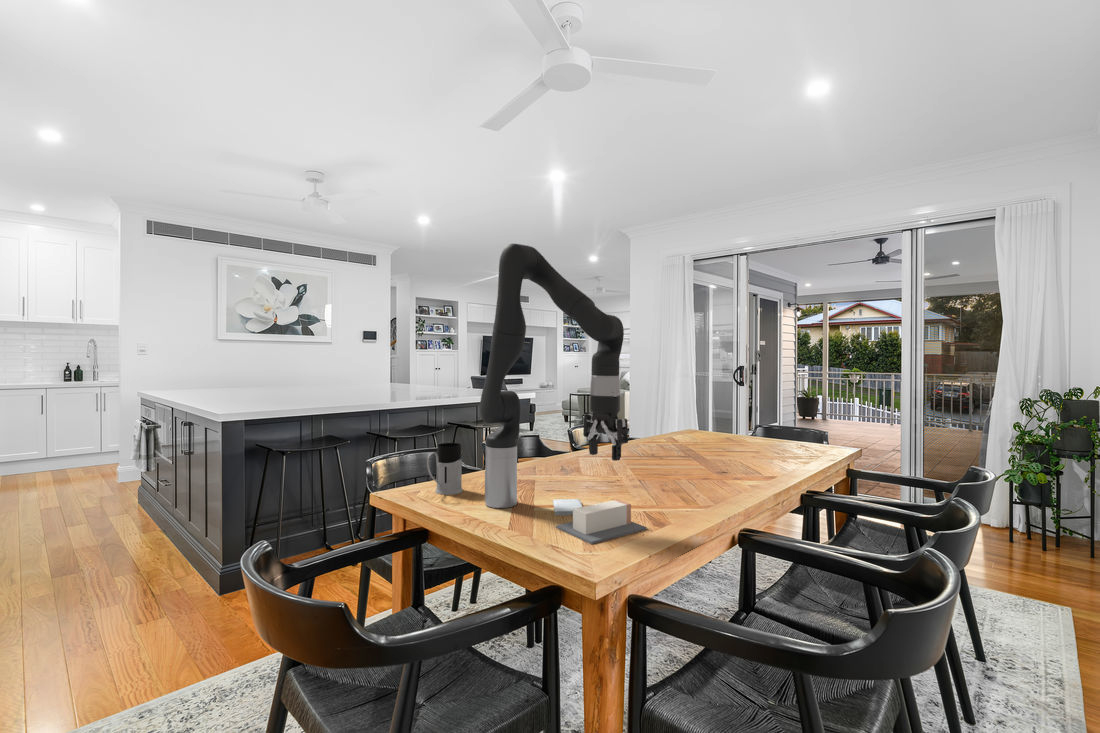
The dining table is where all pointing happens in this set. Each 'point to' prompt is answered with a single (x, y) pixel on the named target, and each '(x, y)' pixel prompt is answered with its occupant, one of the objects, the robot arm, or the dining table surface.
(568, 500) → the hard drive
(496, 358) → the robot arm
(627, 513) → the capped block
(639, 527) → the rubber mat
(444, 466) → the grey coffee pot
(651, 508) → the dining table surface
